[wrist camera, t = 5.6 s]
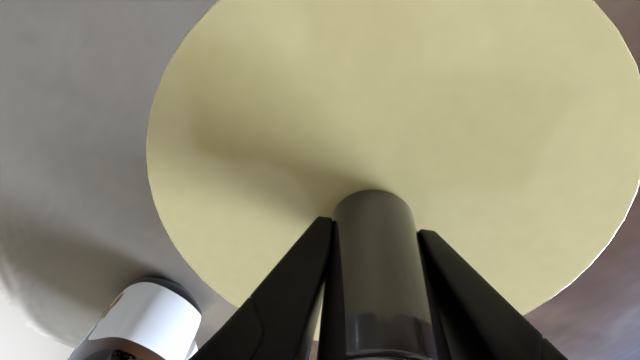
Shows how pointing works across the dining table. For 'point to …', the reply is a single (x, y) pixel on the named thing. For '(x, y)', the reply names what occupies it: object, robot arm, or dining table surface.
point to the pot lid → (396, 152)
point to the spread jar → (144, 325)
